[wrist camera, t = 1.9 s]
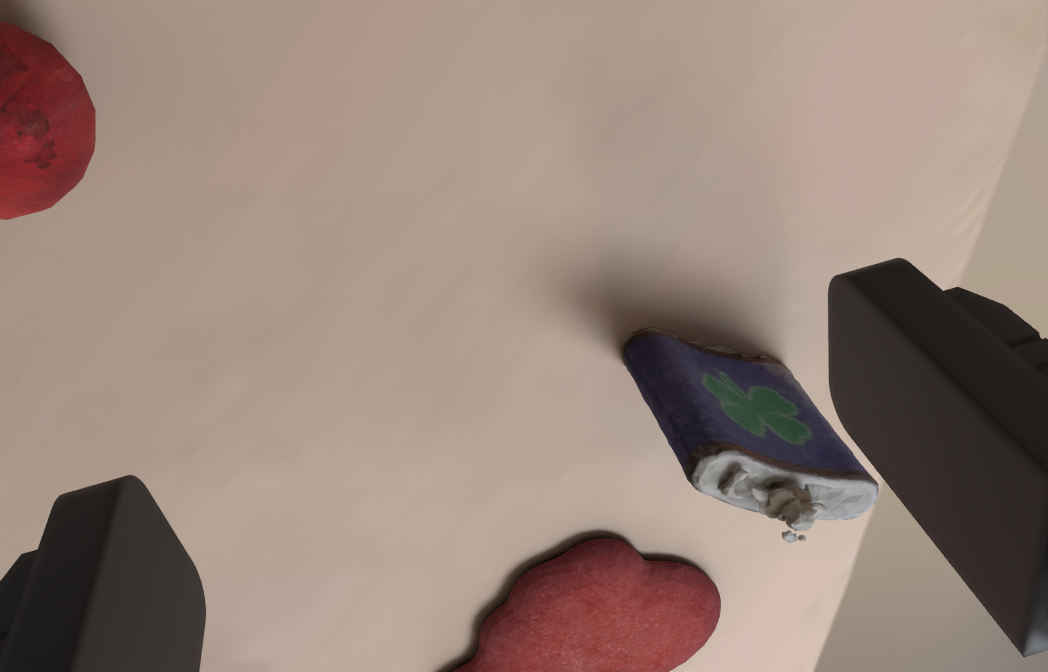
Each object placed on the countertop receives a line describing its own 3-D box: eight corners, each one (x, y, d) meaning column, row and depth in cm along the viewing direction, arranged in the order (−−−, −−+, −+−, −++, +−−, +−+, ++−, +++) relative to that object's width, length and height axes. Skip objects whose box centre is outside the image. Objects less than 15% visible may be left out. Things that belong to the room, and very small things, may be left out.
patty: (597, 753, 59) (605, 781, 57) (405, 722, 53) (409, 753, 51) (753, 573, 52) (768, 599, 50) (553, 515, 46) (561, 543, 45)
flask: (796, 363, 44) (918, 517, 35) (766, 409, 45) (876, 569, 36) (634, 318, 41) (723, 476, 32) (606, 370, 42) (685, 535, 33)
